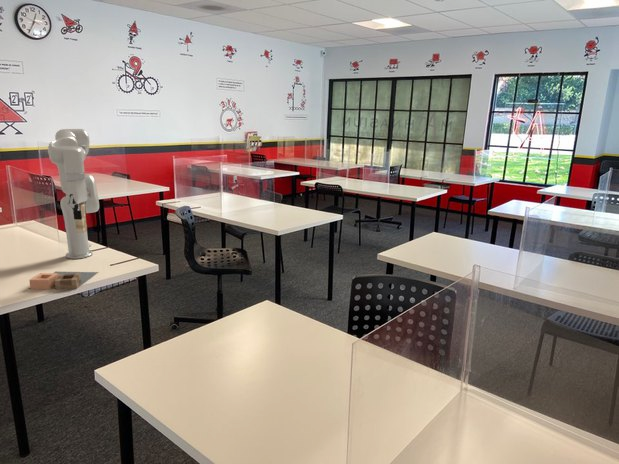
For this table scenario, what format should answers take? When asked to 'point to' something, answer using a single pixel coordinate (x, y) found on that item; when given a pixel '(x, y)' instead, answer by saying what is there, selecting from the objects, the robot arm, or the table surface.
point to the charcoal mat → (84, 277)
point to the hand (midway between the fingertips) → (80, 217)
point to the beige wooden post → (81, 224)
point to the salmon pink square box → (43, 281)
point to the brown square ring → (68, 281)
